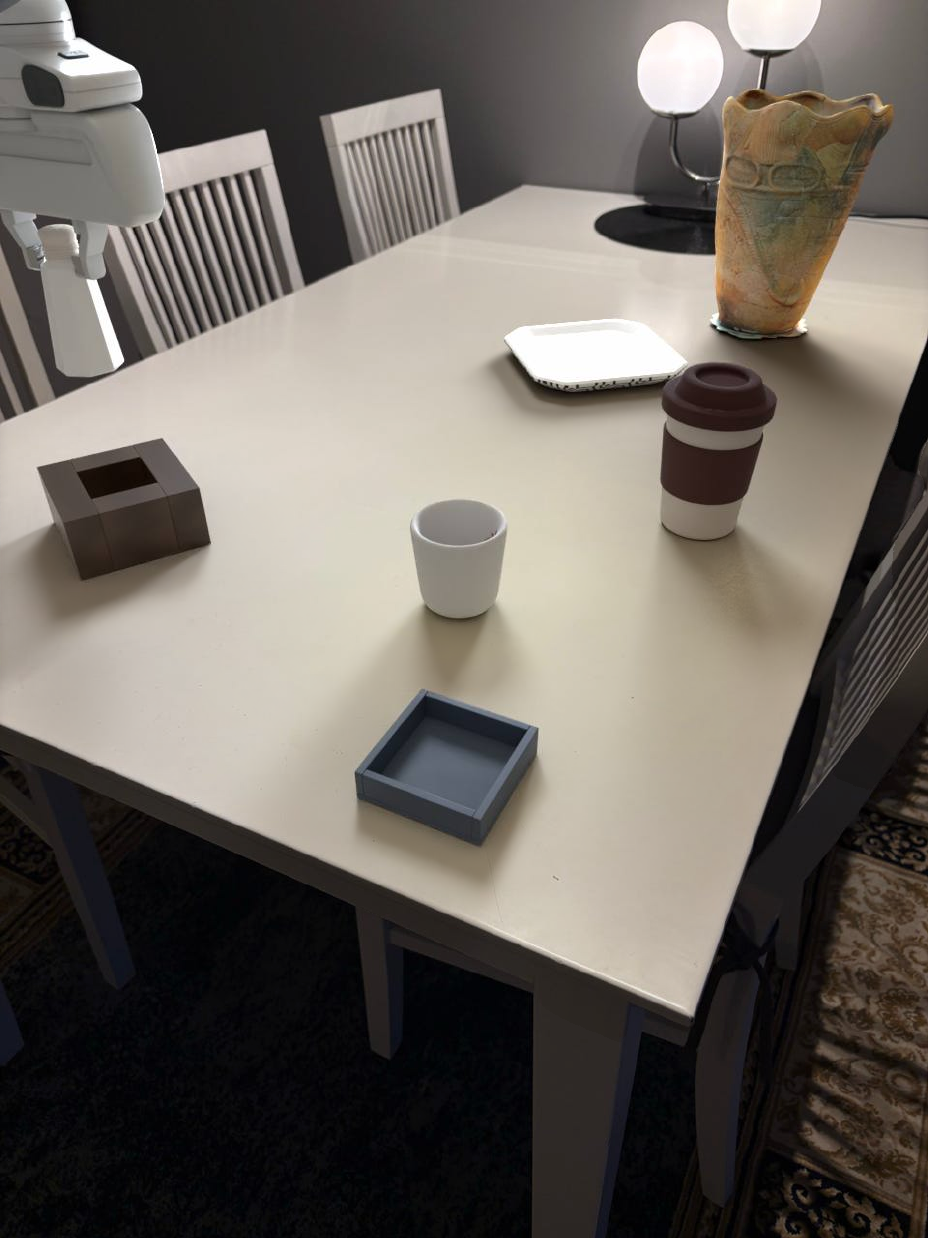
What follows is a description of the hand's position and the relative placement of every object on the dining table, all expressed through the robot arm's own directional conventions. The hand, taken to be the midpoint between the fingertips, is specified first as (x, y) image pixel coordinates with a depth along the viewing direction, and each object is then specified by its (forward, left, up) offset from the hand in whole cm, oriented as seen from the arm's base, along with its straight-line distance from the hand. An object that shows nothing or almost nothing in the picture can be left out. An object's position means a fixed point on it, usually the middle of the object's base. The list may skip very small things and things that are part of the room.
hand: (67, 273), depth 72 cm
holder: (0, +2, -25) cm, 25 cm away
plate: (+64, +13, -25) cm, 70 cm away
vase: (+95, +12, -25) cm, 99 cm away
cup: (+22, -23, -25) cm, 41 cm away
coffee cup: (+48, -25, -25) cm, 60 cm away
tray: (+10, -42, -25) cm, 50 cm away
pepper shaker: (0, 0, -8) cm, 8 cm away
